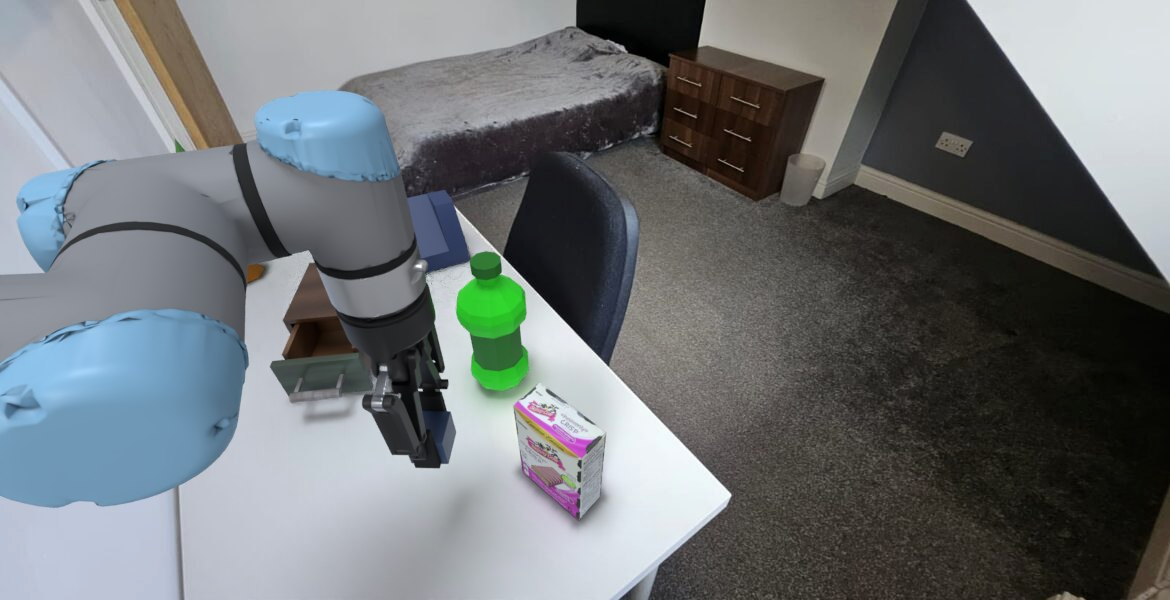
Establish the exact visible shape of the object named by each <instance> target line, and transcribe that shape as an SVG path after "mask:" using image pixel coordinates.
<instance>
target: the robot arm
mask: <svg viewBox="0 0 1170 600" xmlns="http://www.w3.org/2000/svg"><path fill="white" fill-rule="evenodd" d="M253 123H254V126H255V130H256V135H255V136H256V139H253V140H248V141H246V142H243V143H236V144H230V145H224V146H223V145H222V146H216V147H215V146H214V147H207V148H201V149H193V150H185V152H177V153H176V152H172V153H171V152H170V153H163V154H156V155H155V154H154V155H149V156H141V157H134V158H126V159H119V160H118V159H115V158H112V159H111V158H110V159H109V158H107V159H105V160H103V159H99V160H98V159H97V160H94V161H90V162H87V163H84V164H83V165H80V166H76V167H75V166H74V167H70V168H66V169H60V170H56V171H50V172H46V173H42V174H38V175H36V176H34V177H32V178H30V179H28V180H27V181H26V182H25V183H24V184H23V185H22V186H21V187H20V189H19V191H18V193H17V195H16V199H15V203H16V207H17V209H18V211H19V213H20V215H18V217H17V218H16V226H17V228H18V231H19V234H20V238H21V240H22V242H23V244H24V246H25V247H26V250H27V251H28V252H29V255H30V256H31V257H32V259H33V260H34V261H35V263H36V264H37V266H38V267H39V268H40V269H41V270H42V271H43V272H37V273H35V272H33V273H12V274H11V273H10V274H9V273H7V274H0V497H2V498H4V499H7V500H10V501H13V502H18V503H20V504H25V505H31V506H35V507H40V508H50V509H59V508H62V507H66V506H68V505H71V504H73V503H78V502H90V503H94V504H95V505H96V506H98V507H102V508H104V507H112V506H113V507H114V506H119V505H124V504H130V503H134V502H137V501H142V500H146V499H149V498H152V497H155V496H158V495H161V494H163V493H166V492H168V491H170V490H172V489H175V488H176V487H179V486H181V485H183V484H186V483H187V482H189V481H190V480H192V479H194V478H195V477H197V476H199V475H201V474H202V473H203V472H204V471H206V470H207V469H209V468H210V467H211V466H212V465H213V464H214V463H215V462H216V461H217V460H218V459H219V458H220V457H221V456H222V455H223V454H224V452H225V451H226V450H227V448H228V447H229V445H230V443H231V442H232V440H233V438H234V437H235V434H236V430H237V428H238V423H239V417H240V410H241V404H242V403H241V402H242V396H243V387H244V384H245V382H246V371H247V369H248V368H249V366H250V359H249V351H248V347H247V345H246V343H245V342H246V304H247V303H246V302H247V301H246V300H247V289H248V283H247V266H249V265H253V264H258V265H259V264H261V263H266V262H270V261H274V260H278V259H283V258H287V257H292V256H293V255H295V254H299V253H305V252H309V253H310V255H311V257H312V260H313V263H315V265H316V267H317V270H318V272H319V275H320V277H321V279H322V282H323V284H324V287H325V289H326V291H327V294H328V296H329V299H330V301H331V304H332V305H333V306H334V307H335V308H336V312H337V315H338V317H339V320H340V322H341V324H342V326H343V329H344V331H345V333H346V336H347V338H348V340H349V341H350V343H351V344H352V345H353V346H355V347H356V348H357V349H359V350H361V351H362V352H364V353H365V354H366V355H368V356H369V357H370V361H371V374H372V376H373V377H374V378H375V379H376V382H375V386H374V391H371V393H365V394H364V395H363V397H362V399H361V407H362V409H364V410H365V411H367V412H368V413H370V414H371V416H372V419H373V420H374V422H375V424H376V426H377V428H378V430H379V433H380V434H381V436H382V438H383V440H384V442H385V444H386V446H387V448H388V450H389V452H390V454H391V455H392V456H408V455H410V458H411V459H412V460H413V463H412V464H413V465H414V467H415V469H441V465H442V464H441V460H440V457H439V454H438V451H437V448H436V445H435V442H434V439H433V436H432V433H431V430H430V429H425V424H424V418H423V413H422V411H448V410H447V405H446V402H445V398H444V394H443V392H442V391H441V390H448V389H449V384H450V383H449V382H450V381H449V379H448V378H442V377H441V375H440V374H443V373H445V370H446V366H445V361H444V357H443V352H442V348H441V344H440V340H439V335H438V332H437V328H436V324H435V323H436V317H437V316H436V309H435V305H434V300H433V297H432V294H431V293H432V292H431V289H430V286H429V284H428V282H427V276H426V273H425V271H426V270H427V269H428V263H427V261H426V260H421V256H420V252H419V248H418V244H417V239H416V235H415V230H414V226H413V222H412V218H411V213H410V209H409V205H408V200H407V198H408V197H407V192H406V188H405V184H404V179H403V176H402V168H401V165H400V164H399V163H400V162H399V161H398V157H397V155H396V151H395V148H394V144H393V141H392V138H391V134H390V132H389V128H388V125H387V122H386V119H385V115H384V113H383V112H382V110H381V108H379V107H378V106H377V105H376V104H375V102H373V101H372V100H371V99H369V98H368V97H365V96H364V95H361V94H358V93H355V92H350V91H344V90H333V89H332V90H331V89H329V90H328V89H326V90H325V89H323V90H310V91H302V92H297V93H296V94H295V95H290V96H282V97H278V98H275V99H272V100H269V101H268V102H266V103H264V104H263V105H262V106H261V107H260V108H259V109H258V110H257V111H256V113H255V115H254V121H253ZM410 458H409V459H410Z"/></svg>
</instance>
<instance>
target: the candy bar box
mask: <svg viewBox="0 0 1170 600" xmlns="http://www.w3.org/2000/svg"><path fill="white" fill-rule="evenodd" d="M512 407H513V414H514V421H515V428H516V435H517V443H518V449H519V457H520V464H521V471H522V473H523V474H525V475H526V477H528V478H529V479H530V480H531V481H532V482H534V483H535V484H536V485H537V486H539V488H541V489H542V490H543V491H544V492H545V493H547V495H549V496H550V497H551V498H552V499H553V500H554V501H556V502H557V503H558V504H559V505H561V507H562V508H563V509H565V510H566V511H567V512H568V513H569V514H570V515H571V516H573V518H575V519H576V520H577V521H580V520H581V519H582V518H583V517H584V515H586V513H587V512H588V510H589V509H590V508H592V506H593V505H594V504H595V503H596V502H597V501H598V500H599V499H600V497H601V493H602V483H603V482H602V481H603V471H604V470H603V469H604V461H605V459H604V458H605V449H606V440H607V439H606V437H607V431H605V430H604V429H603V428H601V427H600V426H599V425H598V424H596V423H595V422H593V421H592V420H591V419H590V418H588V417H587V416H586V415H584V414H583V413H581V412H580V411H579V410H578V409H576V408H575V407H573V406H572V405H570V404H569V403H568V402H567V401H566V400H564V399H563V398H562V397H560V396H559V395H557V394H556V393H554V392H553V391H552V390H551V389H549V387H547V386H545V385H543V384H542V383H541V382H538V383H537V384H536V385H535V386H534V387H532V389H531V390H529V391H528V392H527V393H526V394H524V396H523V397H521V398H520V399H518V400H517V401H516V402H515V403H514V404H513V405H512Z"/></svg>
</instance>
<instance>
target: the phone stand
mask: <svg viewBox="0 0 1170 600" xmlns="http://www.w3.org/2000/svg"><path fill="white" fill-rule="evenodd" d="M407 200H408V205H409V209H410V213H411V218H412V222H413V226H414V230H415V235H416V239H417V244H418V248H419V252H420V256H421V260H426V261H427V263H428V269H427V270H426V271H425V274H429V273H432V272H435V271H440V270H442V269H446V268H449V267H453V266H457V265H461V264H463V263H467V262H470V255H469V247H468V244H467V241H466V238H465V235H464V231H463V229H462V225H461V221H460V219H459V216H458V213H457V210H456V207H455V204H454V200H452V197H450V195H449V193H447V190H445V189H442V190H437V191H432V192H428V193H424V194H419V195H415V196H414V195H413V196H410V197H407Z"/></svg>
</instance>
